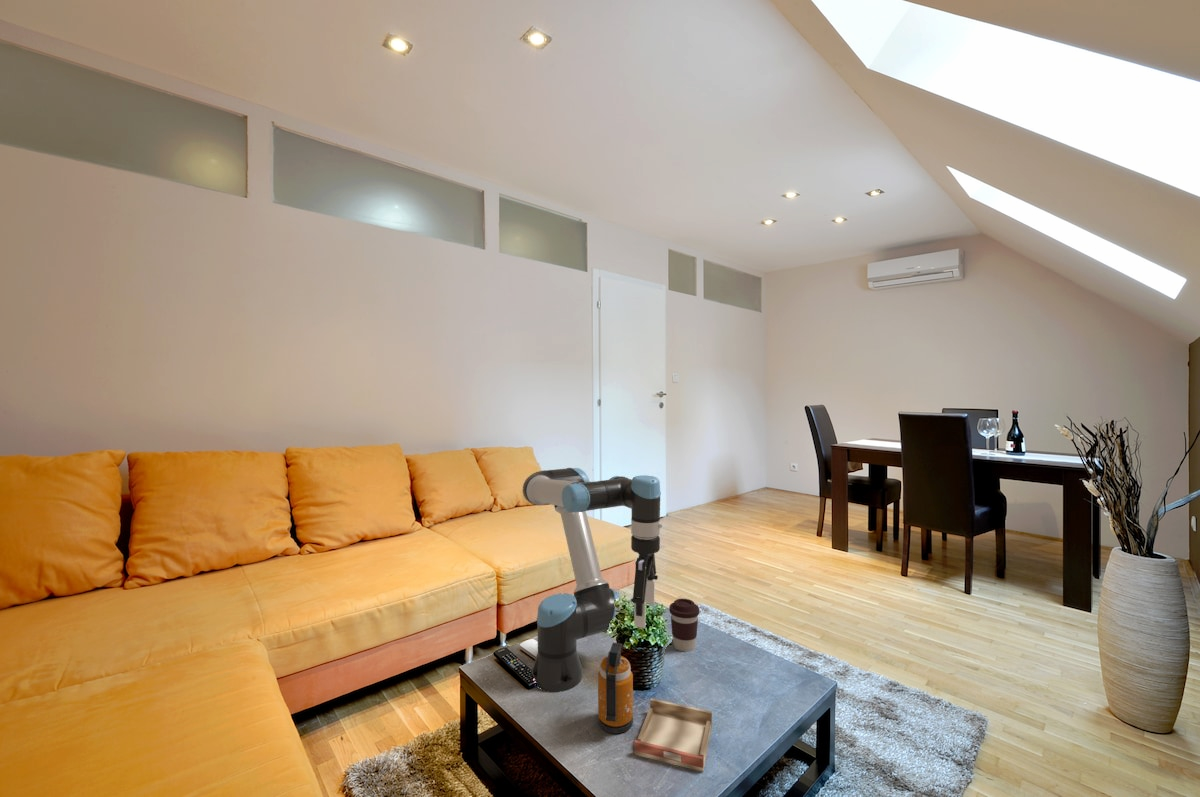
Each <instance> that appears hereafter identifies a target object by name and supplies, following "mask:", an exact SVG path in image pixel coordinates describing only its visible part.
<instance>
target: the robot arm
mask: <svg viewBox="0 0 1200 797" xmlns="http://www.w3.org/2000/svg"><path fill="white" fill-rule="evenodd" d="M660 484H661V481H660V479H659V478H658V477H656V476H653V475H646V474H645V475H636V476H634V477H632V479H630V478H629V477H626V476H621V475H620V476H619V475H615V476H612V477H611V478H609V479H606V480H598V481H596V480H595V481H590V479H589V476H588V475H587V473H586V472H585V471H584V470H583V469H581V468H579V467H567V468H558V469H557V468H556V469H548V470H539V471H535V472H533V473H531V474H530V475H529V476H528V477H527V478H526V479H525V480H524V482H523V485H522V494H523V497H524V499H525V500H526V501H527V502H528V503H530V504H532V505H537V506H545V505H546V506H547V505H553V506H554V509H555V510H554V511H555V512H557V513H558V514H560V516H561V522H562V526H563V531H564V535H565V539H566V543H567V549H568V553H569V558H570V562H571V567H572V570H573V574H574V579H575V583H576V586H575V589H574V590H573V594H572V593H567V592H566V593H565V592H564V593H555V594H551V595H550V596H547V597H545V598H544V599H543V600H542V601H541V602H540V603H539V605H538V607H537V608H538V609H537V614H536V624H537V627H536V628H537V654H536V657H535V660H534V664H533V667H532V670H531V676H532V675H533V677H534V678H535V679H536V682H537V686H538V687H539V688H541V689H542V690H541V689H540V690H541V691H543V690H545V691H544V692H547V691H549V693H561V692H565V691H569V690H572V689H574V688H575V687H576V686H578V685H579V684H580V683H581V681H582V680H583V667H582V664H581V660H580V656H579V654H578V651H577V641H578V640H579V639H583V638H588V637H592V636H594V635H597V634H601V633H606V632H608V631H609V630H608V627H609V623H610V621H611V620H612V619H614V617H615V606H614V600H615V599H618V598H620V599H621V597H620V595H619V593H618V592H617V590H616V589H613V588H610V583H609V581H606V580H605V579H604V578H603V576H602V571H601V567H600V564H599V563H600V562H599V559H598V556H597V551H596V546H595V544H594V539H593V536H592V531H591V526H590V523H589V520H588V518H589V517H588V515H587V512H588V511H595V510H600V509H609V508H616V507H626V508H629V509H631V511H630V512H631V519H630V520H631V522H630V523H631V524H630V528H631V530H630V534H632V535H631V539H630V540H631V542H630V543H631V544H630V546H631V547H630V548H631V550H632V551H633V552H634V553H637V554H638V557H637V558H636V561H635V572H634V583H633V590H632V591H633V593H632V598H631V599H630V601H631V602H632V604H633V605H634V609H633V610H634V611H633V612H634V614H633V616H634V617H633V619H634V624H633V625H634V627H635V628H641V629H645V628H646V609H647V608H646V605H655V604H656V603H655V602H656V601H655V600H656V599H655V597H656V596H655V594H656V593H655V591H656V589H655V588H656V583H655V582H656V580H658V577H659V576H658V575H657V568H656V559H655V558H656V557H655V554H656V553H659V551H660V550H661V549H660V548H661V546H660V545H661V544H660V543H661V537H660V536H659V535H661V534H660V533H661V532H660V529H661V528H662V527H663V524H662V523H660V520H661V494H662V493H661V485H660ZM607 630H608V631H607ZM539 688H538V689H539ZM560 691H561V692H560Z"/></svg>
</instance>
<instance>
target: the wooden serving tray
mask: <svg viewBox="0 0 1200 797" xmlns="http://www.w3.org/2000/svg"><path fill="white" fill-rule="evenodd" d="M712 728H713V711H712V710H707V709H702V708H698V707H694V706H693V707H692V706H688V705H683V704H679V703H674V702H670V701H666V700H661V699H656V698H650V700H649V709H648V711H647V714H646V717H645V719H644V721H643V724H642V726H641V728H640V731H639V733H638V736H637V739H635V740H634V741H633V742H634V744H633V745H634V747H633V749H634V755H636V756H638V757H643V758H647V759H651V760H655V761H658V762H663V763H666V764H671V765H675V766H678V767H683V768H685V769H689V770H694V771H697V772H701V773H704V770H705V765H706V760H707V759H706V758H707V755H708V749H709V743H710V738H711V732H712Z"/></svg>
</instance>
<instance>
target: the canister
mask: <svg viewBox="0 0 1200 797" xmlns="http://www.w3.org/2000/svg"><path fill="white" fill-rule="evenodd" d="M622 649H623V644H622V643H618V642H612V644H611V647H610V650H609V651H608V653H607V656H606V657H604V658H603V659H602V660H601V662H600V664H599V665H600V667H599V671H598V674H597V692H598V693H597V698H598V699H597V704H598V705H597V707H598V710H597V713H598V714H597V716H598V718H597V719H598V720H597V721H598V725H599V726H600V728H601V729H603V731H605V732H608V733H613V734H620V733H624V732H627V731H628V730H630V728H631V727H632V726H633V724H634V686H633V685H634V683H633V681H634V680H633V679H634V674H633V672H632V671H631V669H632V668H631V663H630V661H629V660H628V659H627V658H626V657H624V656H622V655H621V653H622Z"/></svg>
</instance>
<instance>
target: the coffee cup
mask: <svg viewBox="0 0 1200 797" xmlns="http://www.w3.org/2000/svg"><path fill="white" fill-rule="evenodd" d="M668 608H669V611H668V612H669V613H670V614H671V615H670V623H671V625H670V626H671V634H672V640H673V641H672V643H673V647H674V649H675V650H677V651H680V652H686V653H687V652H691V651H694V650H695V649H696V641H697V636H698V622H699V619H698V616H699V615H700V606H699V605H697V604H696V603H695V602H694V601H693V600H691V599H688V598H678V599H676V600H674V601H673V602H672V603H671V604H670V605H669V607H668Z"/></svg>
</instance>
